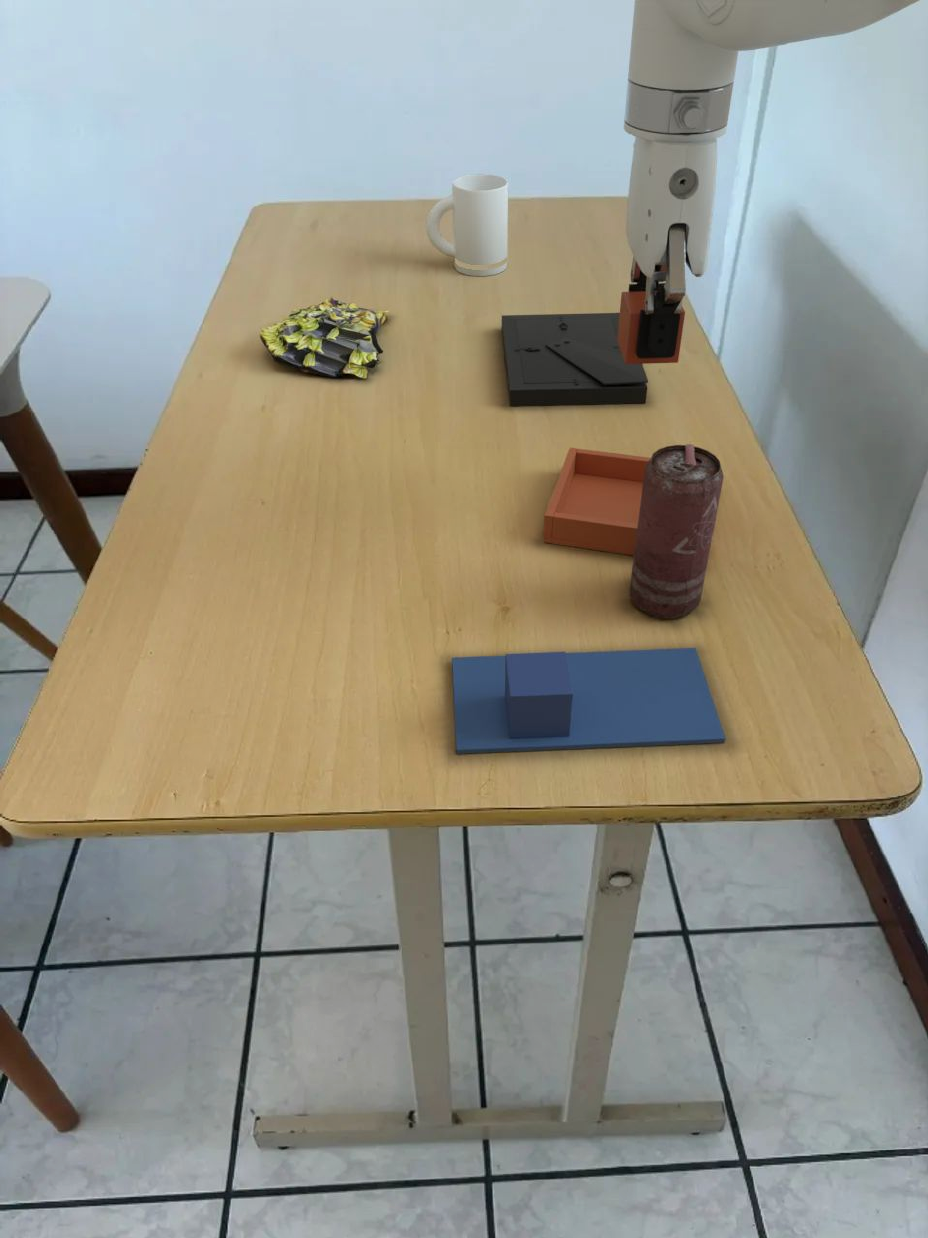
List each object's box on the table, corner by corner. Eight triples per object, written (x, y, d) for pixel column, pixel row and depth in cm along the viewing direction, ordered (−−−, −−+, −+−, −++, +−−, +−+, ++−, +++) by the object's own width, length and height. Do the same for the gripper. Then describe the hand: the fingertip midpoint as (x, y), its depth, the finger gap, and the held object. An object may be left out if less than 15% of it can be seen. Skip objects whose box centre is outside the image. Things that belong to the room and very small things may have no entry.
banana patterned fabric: (311, 311, 134) (321, 266, 131) (416, 357, 133) (429, 312, 129) (239, 349, 118) (248, 299, 114) (358, 402, 117) (370, 352, 113)
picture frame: (645, 403, 111) (620, 327, 127) (648, 380, 109) (622, 306, 125) (509, 406, 111) (501, 330, 127) (510, 384, 109) (501, 309, 125)
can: (696, 577, 86) (720, 440, 77) (702, 623, 81) (729, 483, 72) (627, 574, 87) (644, 438, 78) (630, 619, 82) (648, 480, 73)
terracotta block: (667, 339, 84) (674, 289, 81) (678, 362, 81) (685, 311, 78) (616, 341, 84) (621, 291, 81) (625, 364, 81) (630, 313, 78)
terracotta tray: (710, 492, 97) (715, 465, 95) (699, 565, 88) (704, 538, 86) (568, 473, 100) (569, 447, 98) (543, 542, 91) (544, 515, 89)
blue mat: (694, 652, 79) (695, 647, 78) (724, 743, 71) (726, 738, 71) (452, 661, 78) (451, 657, 78) (456, 754, 71) (456, 749, 70)
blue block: (562, 693, 75) (565, 651, 72) (569, 736, 71) (573, 693, 68) (504, 696, 75) (505, 653, 72) (509, 739, 71) (510, 696, 68)
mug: (427, 258, 147) (423, 175, 139) (504, 255, 147) (505, 172, 140) (429, 278, 141) (425, 193, 133) (509, 275, 141) (510, 189, 133)
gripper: (759, 137, 64) (716, 387, 76) (701, 79, 77) (672, 301, 89) (647, 140, 64) (621, 390, 76) (608, 81, 76) (591, 304, 88)
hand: (649, 340), depth 82 cm, fingers closed on terracotta block, 4 cm apart
